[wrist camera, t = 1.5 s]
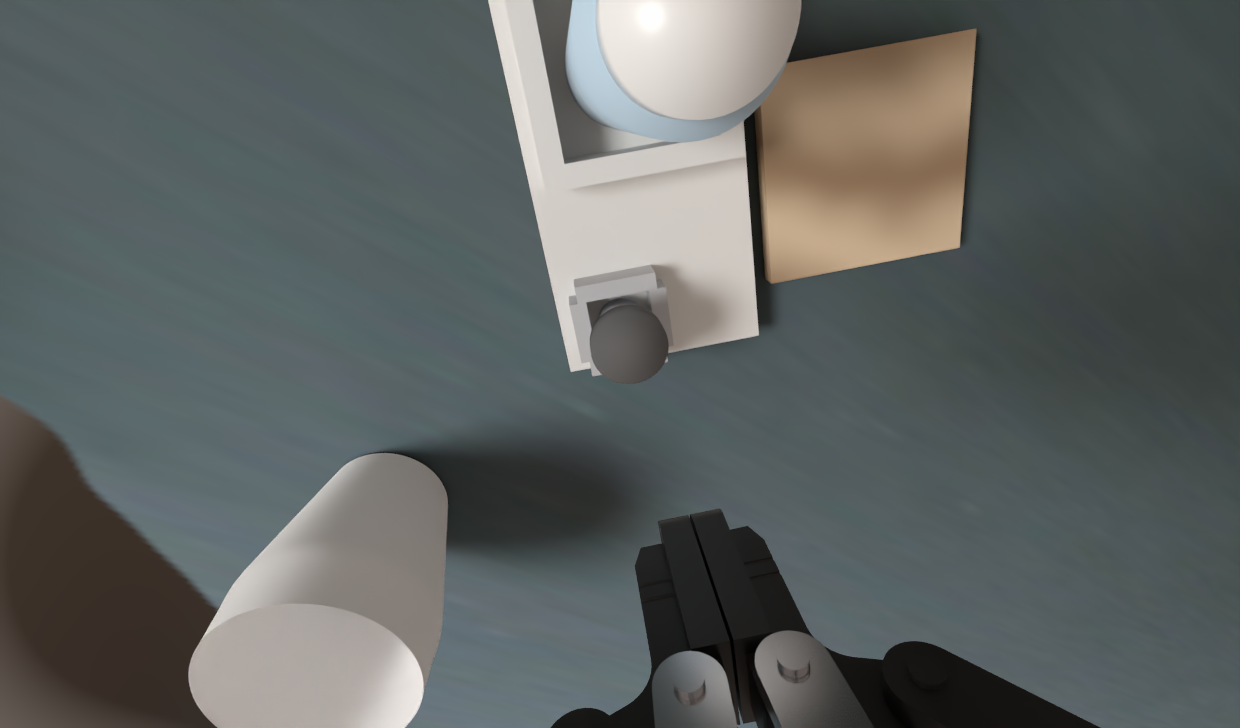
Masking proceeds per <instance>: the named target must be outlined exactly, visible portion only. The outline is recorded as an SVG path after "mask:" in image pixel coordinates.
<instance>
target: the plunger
mask: <svg viewBox="0 0 1240 728" xmlns="http://www.w3.org/2000/svg"><path fill="white" fill-rule="evenodd" d="M668 349H669V343H668V337H667V334H666V332H665V330H664V328H663V326H662V324H661V322H660V320H659V319H658V318H657V316H656V315H655V314H653V313H652V312H651V311H649V310H648V309H646V308H643V307H641V306H638V305H637V304H636V303H635V302H634V301H632V300H630V299H627V298H616V299H613V300H611V301H609V302H608V303H606V304H605V305H604V306H603V308H602V309H601V311H600V314H599V319H598V320H597V321H596V323H595V324H594V326H593V328H592V330H591V334H590V351H591V357H592V360H593V363H594V365H595V367H596V368H597V370H598V371H599V372H600V373H601V374H602V375H603V376H604V377H606V378H607V379H609V380H611V381H614V382H616V383H621V384H635V383H639V382H642V381H645V380H647V379H649V378H651V377H652V376H653V375H655V374H656V373H657V372H658V371H659V370H660V369H661V367H662V366H663V364H664V362H665V360H666V358H667V355H668Z"/></svg>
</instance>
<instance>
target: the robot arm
mask: <svg viewBox="0 0 1240 728" xmlns="http://www.w3.org/2000/svg"><path fill="white" fill-rule="evenodd" d="M658 524H659V530H660V536H661V542H662V544H658V545H653V546H648V547H643V548H641V549H640V552H639V555H638V558H637V561H636V564H635V569H636V575H637V581H638V586H639V592H640V598H641V604H642V610H643V615H644V621H645V627H646V633H647V638H648V644H649V650H650V656H651V663H652V668H651V675H650V679H649V681H648V683H647V685H646V687H645V689H644V690H643V692H642V693H641V694H640V695H639V696H638V697H637V698H636V699H635V700H634V701H633V702H631V703H630V704H628V705H627V706H625V707H623V708H622V709H620V710H618V711H617V712H615V713H613V714H611V715H610V716H609V715H608V714H606V713H605V712H603V711H601V710H598V709H593V708H581V709H577V710H574V711H571V712H569V713H567V714H565V715H564V716H562V717H561V718H559V719H558V720H557V721H556V722H555V723H554V724H553V726H552V727H551V728H738V726H737V725H740V719H739V711H740V714H741V717H742V721H743V724H744V723H749V722H753V721H756V723H757V726H758V728H1100V727H1098V726H1096V725H1094V724H1092V723H1090V722H1088V721H1086V720H1084V719H1082V718H1080V717H1078V716H1076V715H1074V714H1072V713H1070V712H1068V711H1066V710H1064V709H1062V708H1060V707H1058V706H1056V705H1054V704H1052V703H1050V702H1048V701H1046V700H1044V699H1042V698H1040V697H1038V696H1036V695H1034V694H1032V693H1030V692H1028V691H1026V690H1024V689H1022V688H1020V687H1018V686H1016V685H1014V684H1012V683H1010V682H1008V681H1006V680H1004V679H1002V678H1000V677H998V676H996V675H994V674H992V673H990V672H988V671H986V670H984V669H982V668H980V667H978V666H976V665H974V664H972V663H970V662H968V661H966V660H964V659H962V658H960V657H958V656H956V655H954V654H952V653H950V652H948V651H946V650H944V649H942V648H940V647H938V646H935V645H932V644H929V643H925V642H917V641H911V642H904V643H900V644H898V645H895V646H894V647H892V648H891V649H890V650H889V651H888V652H887V653H886V655H885V657H884V659H883V660H877V659H867V658H857V657H850V656H845V655H842V654H839V653H836V652H834V651H831V650H830V649H828V648H826V647H825V646H823V645H822V644H821V643H820V642H819V641H818V640H816V639H815V638H814V637H813V636H812V635H811V633H810V632H809V630H808V629H807V627H806V625H805V623H804V621H803V619H802V617H801V615H800V613H799V610H798V608H797V606H796V604H795V602H794V600H793V598H792V596H791V594H790V592H789V590H788V588H787V586H786V584H785V582H784V580H783V578H782V576H781V575H780V573H779V570H778V567H777V565H776V563H775V561H774V560H773V558H772V555H771V553H770V551H769V549H768V547H767V545H766V543H765V541H764V539H763V538H761V537H760V536H759V535H758V534H757V533H755V532H754V531H753V530H752V529H751V528H749V527H748V526H746V527H741V528H736V529H731V530H730V529H729V527H728V524H727V522H726V520H725V517H724V515H723V513H722V511H721V509H715V510H710V511H705V512H701V513H696V514H691V515H690V519H689V516H688V515H686V516H681V517H676V518H671V519H667V520H662V521H658ZM738 708H739V711H738Z"/></svg>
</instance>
